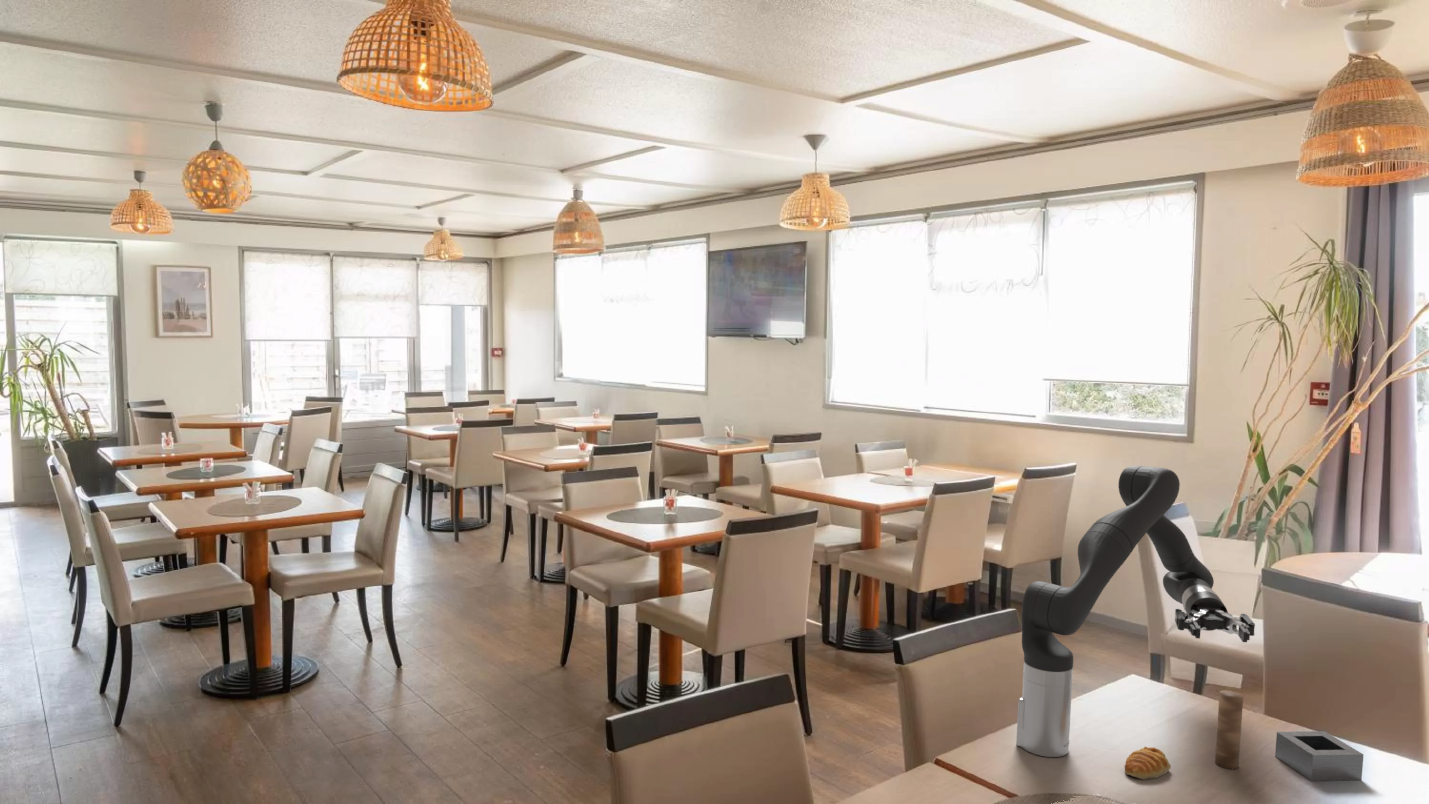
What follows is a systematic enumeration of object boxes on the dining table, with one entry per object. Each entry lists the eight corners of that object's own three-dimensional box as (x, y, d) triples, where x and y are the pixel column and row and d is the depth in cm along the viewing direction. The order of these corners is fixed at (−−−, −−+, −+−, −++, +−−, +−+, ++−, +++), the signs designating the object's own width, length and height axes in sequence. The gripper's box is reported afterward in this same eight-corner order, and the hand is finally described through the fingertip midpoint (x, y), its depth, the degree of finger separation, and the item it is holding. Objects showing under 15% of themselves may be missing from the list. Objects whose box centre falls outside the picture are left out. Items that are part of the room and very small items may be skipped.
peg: (1213, 764, 178) (1217, 694, 177) (1216, 757, 181) (1221, 688, 180) (1236, 771, 176) (1241, 700, 175) (1240, 763, 179) (1244, 694, 178)
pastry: (1149, 786, 170) (1150, 766, 169) (1114, 773, 175) (1115, 753, 175) (1172, 771, 176) (1173, 752, 175) (1137, 759, 181) (1138, 740, 181)
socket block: (1311, 780, 173) (1313, 755, 172) (1275, 756, 183) (1276, 731, 182) (1361, 779, 173) (1363, 754, 173) (1322, 755, 183) (1324, 731, 183)
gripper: (1168, 588, 203) (1184, 615, 187) (1241, 592, 199) (1262, 621, 183) (1167, 620, 204) (1182, 650, 188) (1239, 625, 200) (1260, 656, 184)
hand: (1221, 635), depth 186 cm, fingers open, 8 cm apart
